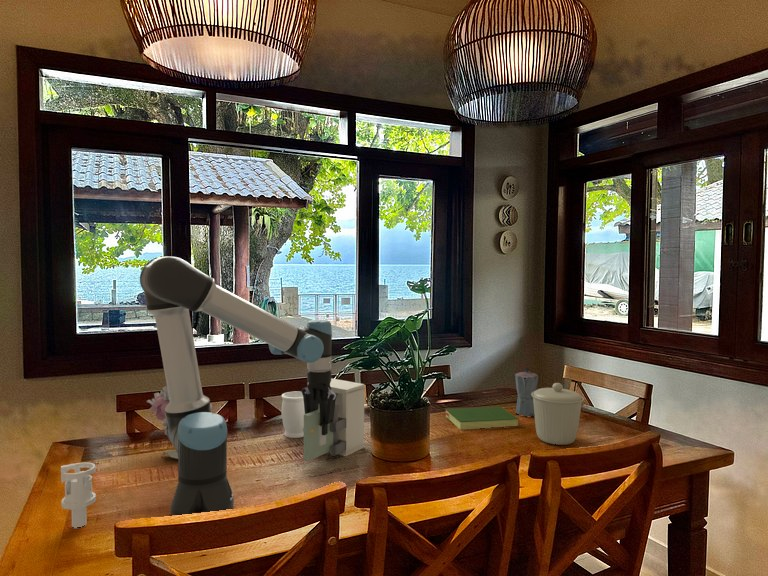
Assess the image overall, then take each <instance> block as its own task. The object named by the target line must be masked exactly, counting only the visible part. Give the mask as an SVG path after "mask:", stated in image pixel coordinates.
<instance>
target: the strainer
mask: <svg viewBox="0 0 768 576" xmlns="http://www.w3.org/2000/svg"><path fill="white" fill-rule="evenodd" d="M83 468H87V470H82V471H81V469H83ZM88 468H89V469H88ZM70 470H74V472H72V473H70V472H69V471H70ZM95 472H96V464H95V463H94V462H87V461H86V462H78V463H70V464H64V465H61V466H60V482H61V483H64V497H62V499H61V501H60V502H61V508H62V509H64V510H71V528H72V527H74V528H73V529H78V528H77V527H81V528H83V527H82V526H84V525H85V526H87V521H88V520H87V507H88V506H91V505H92V504H94V503H95V502H96V501H97V493H95V492H93V476H92V474H94V473H95ZM85 526H84V527H85Z"/></svg>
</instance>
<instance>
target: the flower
mask: <svg viewBox="0 0 768 576" xmlns="http://www.w3.org/2000/svg"><path fill="white" fill-rule="evenodd" d="M153 395H154V398H151V399H148V400H146V403H148V404H150V405H151V407H150V408H149V411H150V412H151V413H152V414H154V413H155V417H156V419H157V420H158V421H159V420H161V424H162V425H163V427H167V426H166V425H167V419H166V413H165V408H166V406H167V405H168V404H169V402H170V400H169V394H168V389H167V385H164V386H163V387H162V390H160V393H159V392H155V393H153ZM210 406H211V412H212V413H213V405H212V404H211V403H210ZM164 435H166V436H167V431H166V428H165V429H164ZM165 455H168V456H169V457H170V458H172V459H177V460H178V453H177V451H176V449H172V450H167V451H164V452H163V453H162V454H161V458H162V457H163V456H165Z"/></svg>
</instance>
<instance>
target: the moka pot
mask: <svg viewBox="0 0 768 576" xmlns="http://www.w3.org/2000/svg"><path fill="white" fill-rule="evenodd" d="M514 377H515V387H516V388H515V389H516V392H517V400H516V407H515V413H517V414H519V415H523V416H534V402H533V397H532V395H531V393H532V392H534V391H536V390H538V389H537V387H538V381H539V375H538V374H537V373H535V372H530V369H529V368H528V367H527V368H524V371H521V372H517V373H514ZM534 417H535V416H534Z"/></svg>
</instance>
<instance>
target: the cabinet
mask: <svg viewBox="0 0 768 576" xmlns="http://www.w3.org/2000/svg"><path fill="white" fill-rule="evenodd" d="M306 384H307V386H306V387H308V384H309V383H308V382H307V383H306ZM330 387H331V391H333V392H334V393H337V394H338V396H337V398H336V401H335V404H336V405H338V421H336V422H332V423H331V432H334V433H335V432H337V431H338V444H336V445H331V446H330V452H329V453H330V456H334V457H335V456H337V455H339V456H344V457H347V456H349V455H351V454H354V453H355V452H358V451H360V450H362V449H364V447H365V389H366V388H365V383H360V382H354V381H349V380H343V379H339V378H338V379H336V378H332V377H331V382H330ZM328 396H329V395H328ZM319 409H320V407H319V408H318V410H319Z"/></svg>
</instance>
